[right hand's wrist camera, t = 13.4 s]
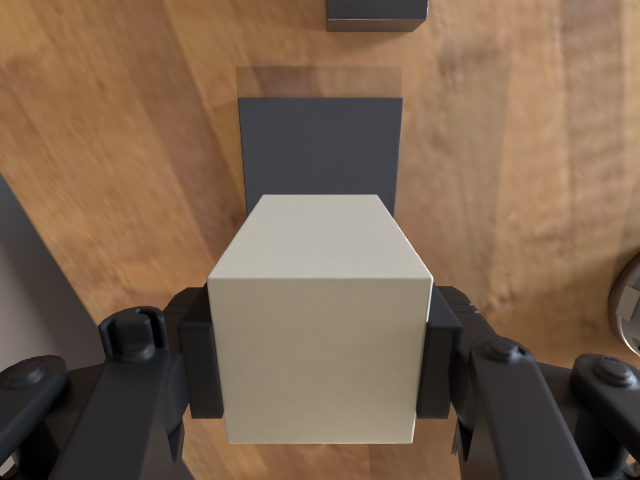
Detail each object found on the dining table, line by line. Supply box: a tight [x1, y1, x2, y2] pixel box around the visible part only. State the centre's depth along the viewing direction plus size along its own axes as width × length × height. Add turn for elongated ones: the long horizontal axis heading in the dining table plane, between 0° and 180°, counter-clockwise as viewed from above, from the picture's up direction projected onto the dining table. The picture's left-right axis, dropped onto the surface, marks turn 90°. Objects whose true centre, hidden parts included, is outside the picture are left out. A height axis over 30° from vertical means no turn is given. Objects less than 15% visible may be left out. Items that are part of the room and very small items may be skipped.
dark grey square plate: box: [238, 98, 403, 219], centre depth 32 cm, size 14×14×1 cm
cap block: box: [207, 195, 433, 444], centre depth 12 cm, size 5×5×8 cm
